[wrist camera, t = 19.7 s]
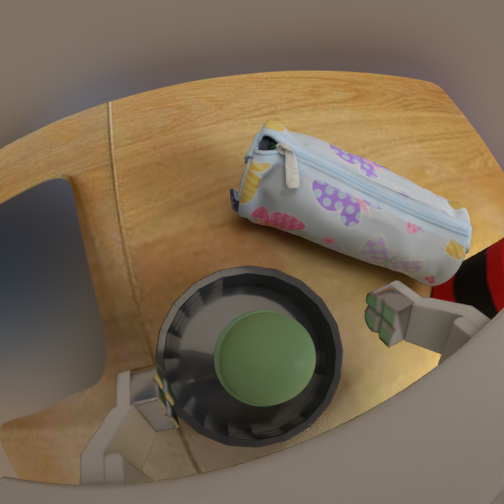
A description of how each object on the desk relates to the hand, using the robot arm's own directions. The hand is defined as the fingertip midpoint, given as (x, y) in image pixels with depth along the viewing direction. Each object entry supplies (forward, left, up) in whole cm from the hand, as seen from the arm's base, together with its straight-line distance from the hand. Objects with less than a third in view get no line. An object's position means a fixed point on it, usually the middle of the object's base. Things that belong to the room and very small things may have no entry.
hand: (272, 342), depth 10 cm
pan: (0, -1, -14) cm, 14 cm away
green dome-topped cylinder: (0, -1, -13) cm, 13 cm away
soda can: (+22, -9, -14) cm, 27 cm away
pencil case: (+14, +5, -14) cm, 20 cm away
